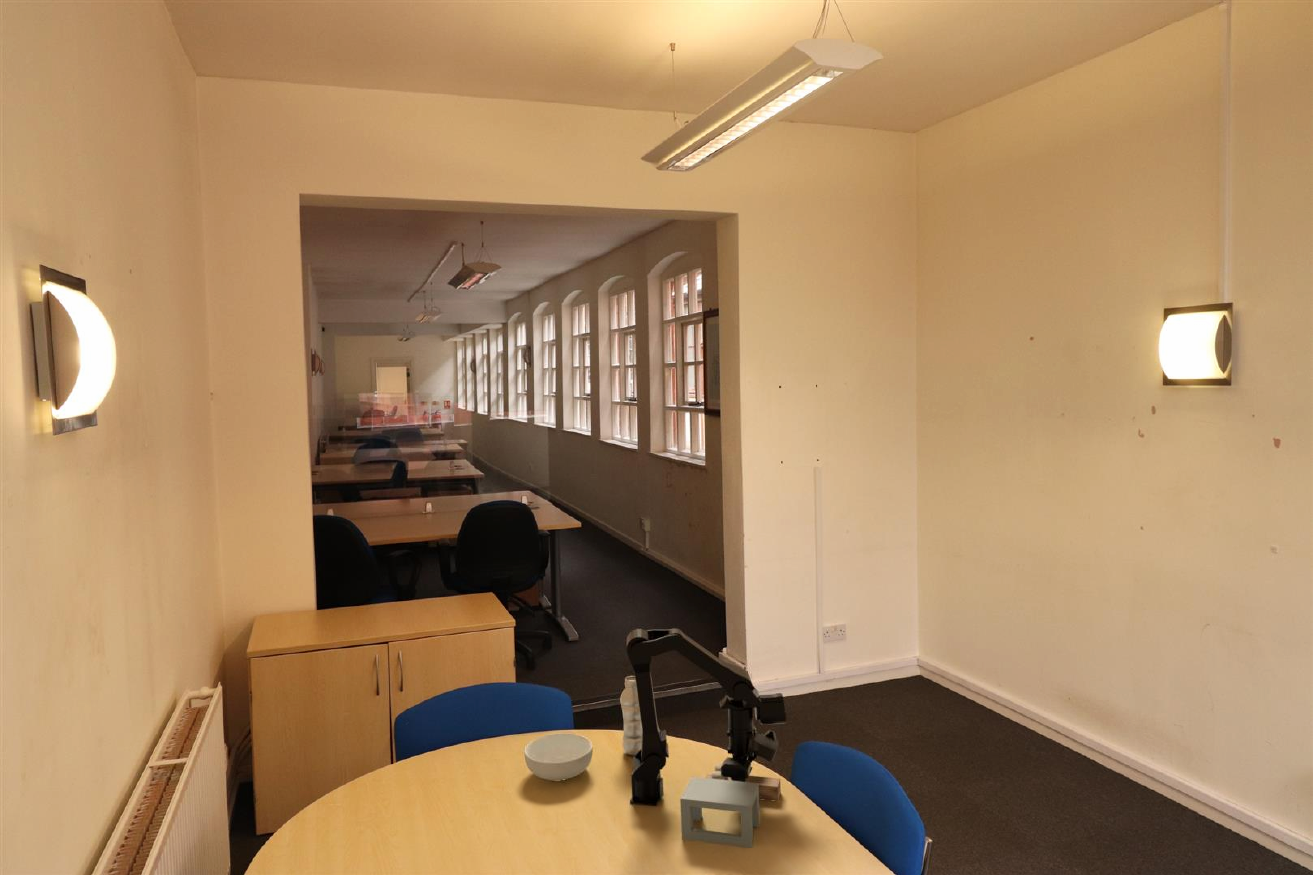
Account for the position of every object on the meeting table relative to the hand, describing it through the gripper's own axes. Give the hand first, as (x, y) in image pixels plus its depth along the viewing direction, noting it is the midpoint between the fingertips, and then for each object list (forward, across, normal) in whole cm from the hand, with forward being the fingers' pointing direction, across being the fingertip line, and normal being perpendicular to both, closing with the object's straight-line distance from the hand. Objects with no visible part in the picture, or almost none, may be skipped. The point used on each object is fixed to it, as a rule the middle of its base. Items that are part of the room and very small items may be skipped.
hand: (743, 789), depth 203 cm
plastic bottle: (+1, +15, +32) cm, 35 cm away
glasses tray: (+1, 0, +1) cm, 1 cm away
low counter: (+1, -17, +2) cm, 17 cm away
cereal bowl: (+1, 0, +46) cm, 47 cm away
